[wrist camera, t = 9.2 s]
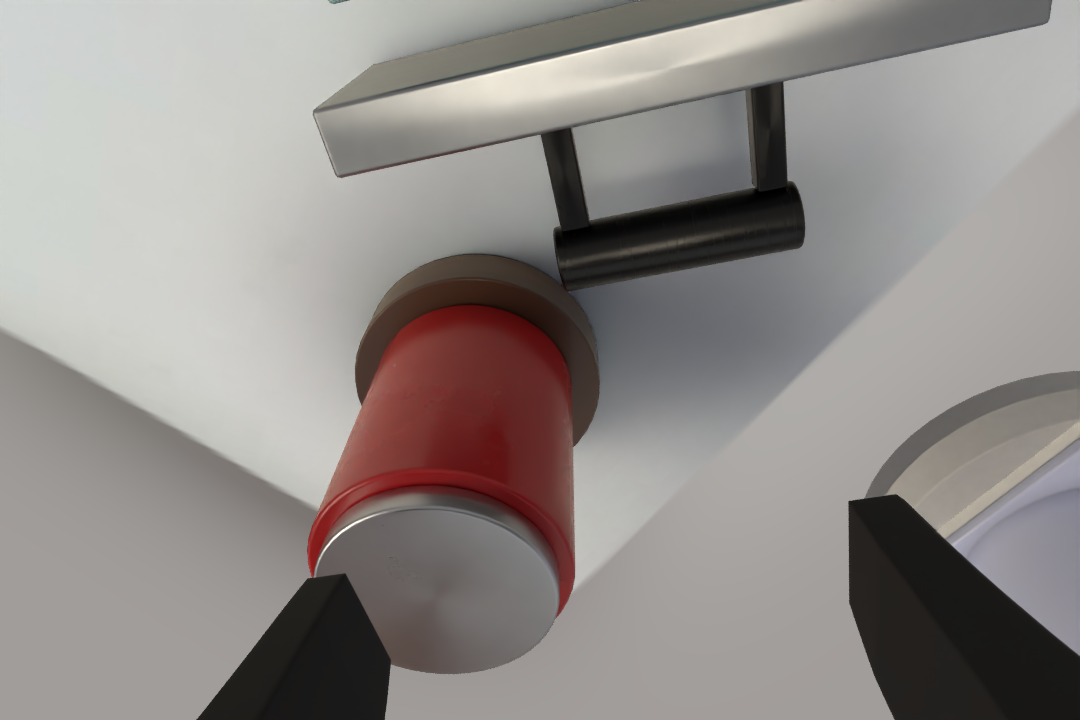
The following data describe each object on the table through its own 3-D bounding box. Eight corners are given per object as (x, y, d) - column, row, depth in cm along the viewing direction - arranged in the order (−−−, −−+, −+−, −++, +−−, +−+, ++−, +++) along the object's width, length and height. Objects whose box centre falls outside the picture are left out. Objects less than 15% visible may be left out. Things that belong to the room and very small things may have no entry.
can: (610, 366, 19) (632, 573, 13) (507, 490, 21) (486, 714, 15) (436, 266, 17) (369, 445, 12) (347, 410, 20) (254, 622, 14)
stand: (644, 331, 20) (649, 360, 19) (519, 482, 23) (517, 515, 22) (435, 206, 18) (425, 228, 17) (330, 387, 21) (315, 416, 20)
